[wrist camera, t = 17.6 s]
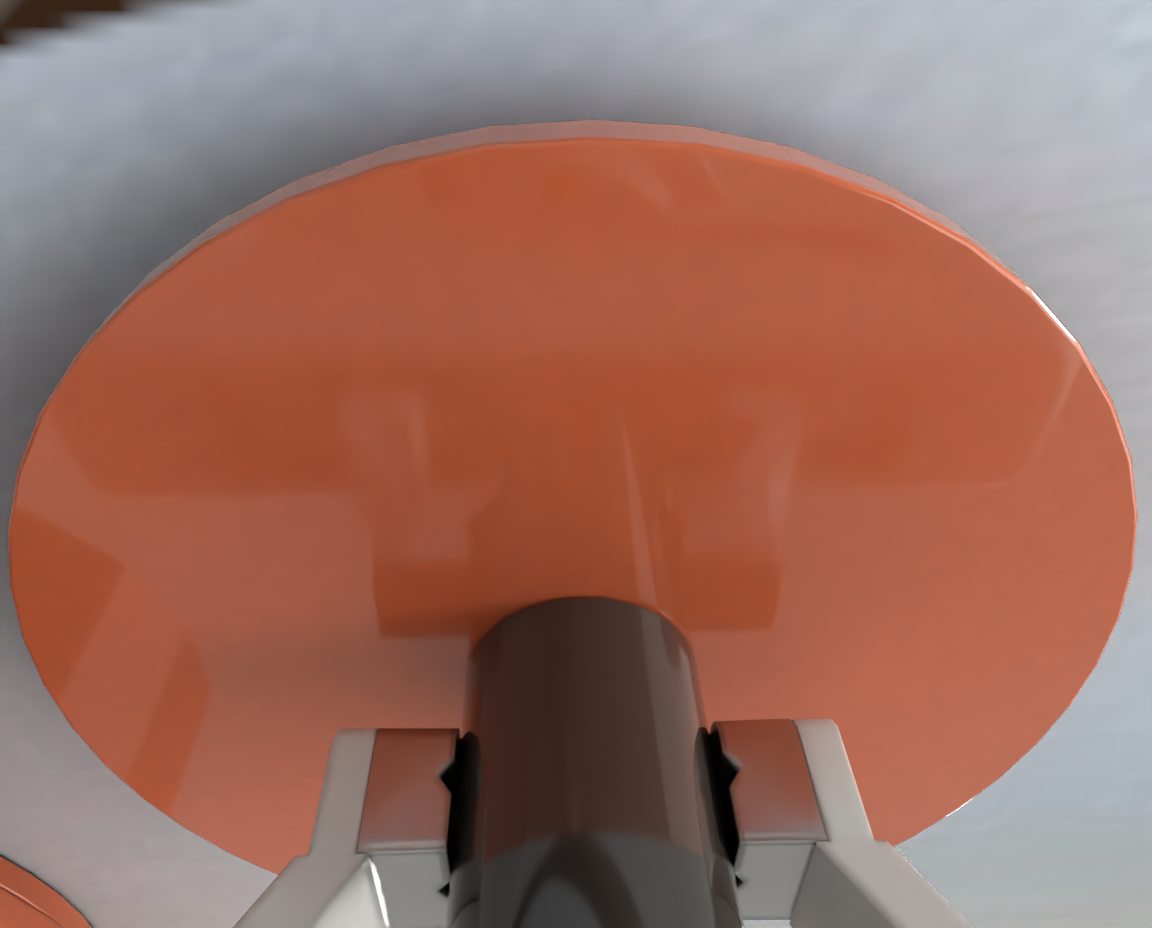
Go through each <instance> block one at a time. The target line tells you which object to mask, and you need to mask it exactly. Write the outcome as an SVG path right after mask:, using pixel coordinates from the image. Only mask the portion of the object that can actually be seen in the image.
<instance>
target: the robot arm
mask: <svg viewBox="0 0 1152 928" xmlns="http://www.w3.org/2000/svg"><path fill="white" fill-rule="evenodd" d="M710 740H711V745H712V751H713V756H714V762H715V767H716V773H717V778H718V784H719V790H720V795H721V801H722V806H723V812H724V817H725V823H726V828H727V834H728V840H729V845H730V851H731V856H732V862H733V867H734V873H735V878H736V884H737V890H738V895H739V901H740V906H741V912H742V917H743V920H791V921H790V924H791V926H792V927H793V928H975V927H974V926H972V925H971V924H970V923H969V922H968V921H967V920H966V919H965V918H964V917H963V916H962V915H961V914H960V913H959V912H958V911H957V910H956V909H955V908H954V907H953V906H952V905H951V904H950V903H949V902H948V901H947V900H946V899H945V898H944V897H943V896H942V895H941V894H940V893H939V892H938V891H937V890H936V889H935V888H934V887H933V886H932V885H931V884H930V883H929V882H928V881H927V880H926V879H925V878H924V877H923V876H922V875H921V874H920V873H919V872H918V871H917V870H916V869H915V868H914V867H913V866H912V865H911V864H910V863H909V862H908V861H907V860H906V859H905V858H904V857H903V856H902V855H901V854H900V853H899V852H898V851H896V850H895V849H894V848H893V847H892V846H891V845H890V844H889V843H888V842H887V841H886V840H874V838H873V835H872V831H871V828H870V825H869V822H868V819H867V816H866V813H865V810H864V807H863V804H862V800H861V797H860V794H859V791H858V788H857V785H856V782H855V779H854V776H853V773H852V769H851V766H850V763H849V760H848V757H847V754H846V751H845V748H844V745H843V742H842V738H841V735H840V732H839V729H838V726H837V725H836V724H835V723H834V721H833V720H832V719H829V718H819V719H796V720H790V719H789V718H785V719H759V720H732V721H714V722H713V724H712V725H711V729H710ZM460 747H461V736H460V729H459V728H357V729H338V730H337V733H336V735H335V737H334V739H333V741H332V744H331V749H330V754H329V758H328V763H327V767H326V772H325V777H324V781H323V786H322V791H321V795H320V800H319V805H318V809H317V814H316V819H315V823H314V828H313V833H312V837H311V842H310V847H309V851H308V855H301V856H295V857H294V858H293V859H292V860H291V862H290V863H289V864H288V865H287V866H286V867H285V868H284V870H283V871H282V872H281V873H280V874H279V875H278V876H277V878H276V879H275V880H274V881H273V882H272V883H271V884H270V886H269V887H268V888H267V889H266V890H265V891H264V892H263V894H262V895H261V896H260V897H259V898H258V899H257V900H256V902H255V903H254V904H253V905H252V906H251V907H250V908H249V910H248V911H247V912H246V913H245V914H244V915H243V916H242V918H241V919H240V920H239V921H238V922H237V923H236V924H235V926H234V927H233V928H445V923H446V911H447V898H448V886H449V879H450V873H451V861H452V848H453V836H454V824H455V818H454V811H455V798H456V791H457V786H458V773H459V760H460Z"/></svg>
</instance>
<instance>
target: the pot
mask: <svg viewBox="0 0 1152 928" xmlns="http://www.w3.org/2000/svg"><path fill="white" fill-rule="evenodd" d="M0 928H92V926H91V925H90V924H89V923H88V921H87V920H86V919H85V918H84V916H83V915H82V914H81V913H80V912H78V911H77V910H76V909H75V908H74V907H73V906H72V905H71V904H70V903H69V902H68V901H66V900H65V899H64V898H63V897H62V896H61V895H60V894H58V893H57V892H56V891H54V890H53V889H51V888H50V887H49V886H47V885H46V884H45V883H43V882H42V881H40V880H39V879H38V878H36V877H35V876H33V875H32V874H30V873H29V872H27V871H25V870H24V869H22V868H20V867H18V866H17V865H15V864H13V863H12V862H10V861H8V860H6V859H5V858H3V857H1V856H0Z"/></svg>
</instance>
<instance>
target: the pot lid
mask: <svg viewBox="0 0 1152 928" xmlns="http://www.w3.org/2000/svg"><path fill="white" fill-rule="evenodd" d="M1137 517H1138V514H1137V505H1136V496H1135V487H1134V478H1133V469H1132V460H1131V455H1130V452H1129V449H1128V446H1127V443H1126V440H1125V437H1124V434H1123V431H1122V428H1121V425H1120V422H1119V418H1118V415H1117V412H1116V409H1115V406H1114V403H1113V400H1112V398H1111V397H1110V395H1109V393H1108V391H1107V390H1106V388H1105V386H1104V384H1103V383H1102V381H1101V379H1100V378H1099V376H1098V374H1097V372H1096V371H1095V369H1094V367H1093V365H1092V364H1091V362H1090V360H1089V358H1088V357H1087V355H1086V353H1085V351H1084V350H1083V348H1082V346H1081V345H1080V343H1079V342H1078V341H1077V340H1076V338H1075V337H1074V336H1073V335H1072V334H1071V333H1070V332H1069V330H1068V329H1067V328H1066V327H1065V326H1064V325H1063V324H1062V322H1061V321H1060V320H1059V319H1058V318H1057V317H1056V316H1055V314H1054V313H1053V312H1052V311H1051V310H1050V309H1049V308H1048V306H1047V305H1046V304H1045V303H1044V302H1043V301H1042V300H1041V298H1040V297H1039V296H1038V295H1037V294H1036V293H1035V292H1034V290H1033V289H1032V288H1031V287H1030V286H1029V285H1028V284H1027V283H1026V282H1025V281H1024V280H1023V279H1022V278H1021V277H1020V276H1019V275H1018V274H1017V273H1016V272H1015V271H1014V270H1013V269H1012V268H1011V267H1010V266H1009V265H1007V264H1006V263H1005V262H1004V261H1002V260H1001V259H1000V258H999V257H997V256H996V255H995V254H994V253H992V252H991V251H990V250H989V249H987V248H986V247H985V246H984V245H982V244H981V243H980V242H978V241H977V240H976V239H975V238H973V237H972V236H971V235H970V234H968V233H967V232H966V231H965V230H963V229H962V228H961V227H960V226H958V225H957V224H956V223H955V222H953V221H952V220H951V219H949V218H947V217H945V216H943V215H941V214H940V213H938V212H936V211H934V210H932V209H931V208H929V207H927V206H925V205H923V204H922V203H920V202H918V201H916V200H914V199H913V198H911V197H909V196H907V195H905V194H904V193H902V192H900V191H898V190H896V189H895V188H893V187H891V186H889V185H887V184H885V183H884V182H882V181H880V180H878V179H876V178H874V177H871V176H868V175H865V174H863V173H860V172H857V171H855V170H852V169H849V168H846V167H844V166H841V165H838V164H835V163H833V162H830V161H827V160H825V159H822V158H819V157H816V156H814V155H811V154H808V153H805V152H803V151H800V150H797V149H795V148H792V147H789V146H784V145H779V144H774V143H770V142H765V141H760V140H755V139H751V138H746V137H741V136H736V135H732V134H727V133H722V132H717V131H713V130H708V129H703V128H698V127H693V126H679V125H665V124H651V123H636V122H622V121H608V120H593V119H591V120H575V121H560V122H545V123H529V124H514V125H498V126H487V127H482V128H477V129H472V130H468V131H463V132H458V133H453V134H448V135H443V136H438V137H433V138H428V139H423V140H418V141H413V142H408V143H403V144H399V145H394V146H389V147H386V148H384V149H381V150H378V151H375V152H372V153H369V154H367V155H364V156H361V157H358V158H355V159H352V160H350V161H347V162H344V163H341V164H338V165H335V166H333V167H330V168H327V169H324V170H321V171H318V172H316V173H313V174H310V175H307V176H304V177H301V178H299V179H296V180H295V181H293V182H291V183H289V184H287V185H285V186H283V187H281V188H279V189H278V190H276V191H274V192H272V193H270V194H268V195H266V196H264V197H262V198H261V199H259V200H257V201H255V202H253V203H251V204H249V205H247V206H245V207H243V208H242V209H240V210H238V211H236V212H234V213H232V214H230V215H228V216H226V217H225V218H223V219H221V220H219V221H217V222H216V223H214V224H213V225H212V226H210V227H209V228H208V229H206V230H205V231H204V232H202V233H201V234H200V235H198V236H197V237H196V238H194V239H193V240H192V241H190V242H189V243H188V244H186V245H185V246H184V247H182V248H181V249H180V250H178V251H177V252H176V253H174V254H173V255H172V256H170V257H169V258H168V259H166V260H165V261H164V262H162V263H161V264H160V265H158V266H157V267H156V268H154V269H153V270H152V271H150V272H149V273H148V274H147V275H146V277H145V278H144V279H143V280H142V281H141V282H140V283H139V284H138V285H137V286H136V287H135V288H134V289H133V290H132V291H131V292H130V293H129V295H128V296H127V297H126V298H125V299H124V300H123V301H122V302H121V303H120V304H119V305H118V306H117V307H116V308H115V309H114V310H113V311H112V312H111V314H110V315H109V316H108V317H107V318H106V319H105V320H104V321H103V322H102V323H101V324H100V325H99V326H98V327H97V329H96V330H95V331H94V332H93V334H92V335H91V336H90V337H89V339H88V340H87V341H86V342H85V344H84V345H83V346H82V347H81V349H80V350H79V351H78V353H77V354H76V356H75V357H74V359H73V361H72V362H71V364H70V365H69V367H68V368H67V370H66V371H65V373H64V375H63V376H62V378H61V379H60V381H59V382H58V384H57V385H56V387H55V389H54V390H53V392H52V393H51V395H50V396H49V398H48V399H47V401H46V402H45V404H44V406H43V407H42V409H41V411H40V413H39V416H38V418H37V421H36V424H35V426H34V429H33V431H32V434H31V436H30V439H29V441H28V444H27V447H26V449H25V452H24V454H23V457H22V459H21V462H20V464H19V467H18V470H17V476H16V482H15V488H14V494H13V500H12V506H11V512H10V518H9V524H8V546H9V570H10V587H11V591H12V595H13V599H14V604H15V608H16V612H17V616H18V620H19V624H20V628H21V632H22V637H23V639H24V641H25V644H26V646H27V648H28V650H29V653H30V655H31V657H32V659H33V662H34V664H35V666H36V668H37V671H38V673H39V675H40V677H41V680H42V682H43V684H44V686H45V687H46V689H47V690H48V692H49V693H50V695H51V696H52V698H53V699H54V701H55V702H56V704H57V706H58V707H59V709H60V710H61V712H62V713H63V715H64V716H65V718H66V719H67V721H68V722H69V724H70V725H71V727H72V728H73V729H74V730H75V732H76V733H77V734H78V735H79V736H80V737H81V738H82V739H83V741H84V742H85V743H86V744H87V745H88V746H89V747H90V749H91V750H92V751H93V752H94V753H95V754H96V755H97V756H98V758H99V759H100V760H101V761H102V762H103V763H104V764H105V765H106V766H107V767H108V768H109V769H110V770H111V771H112V772H113V773H115V774H116V775H117V776H118V777H119V778H120V779H121V780H123V781H124V782H125V783H126V784H127V785H128V786H129V787H130V788H132V789H133V790H134V791H135V792H136V793H137V794H138V795H140V796H141V797H142V798H143V799H144V800H146V801H147V802H148V803H150V804H151V805H153V806H154V807H156V808H157V809H158V810H160V811H161V812H163V813H164V814H166V815H167V816H168V817H170V818H171V819H173V820H174V821H176V822H177V823H178V824H180V825H181V826H183V827H184V828H186V829H187V830H189V831H191V832H193V833H194V834H196V835H198V836H200V837H202V838H203V839H205V840H207V841H209V842H210V843H212V844H214V845H216V846H218V847H219V848H221V849H223V850H225V851H226V852H228V853H230V854H232V855H234V856H237V857H239V858H241V859H243V860H246V861H248V862H250V863H252V864H254V865H257V866H259V867H261V868H263V869H266V870H268V871H270V872H272V873H274V874H277V875H279V874H280V873H281V872H282V871H283V870H284V868H285V867H286V866H287V865H288V864H289V863H290V862H291V860H292V859H293V858H294V857H295V856H301V855H308V851H309V847H310V842H311V837H312V833H313V828H314V823H315V819H316V814H317V809H318V805H319V800H320V795H321V791H322V786H323V781H324V777H325V772H326V767H327V763H328V758H329V754H330V749H331V744H332V741H333V739H334V737H335V735H336V733H337V730H338V729H357V728H459V729H460V736H461V747H460V760H459V773H458V786H457V791H456V798H455V811H454V818H455V824H454V836H453V848H452V861H451V873H450V879H449V886H448V898H447V911H446V923H445V928H744V923H743V917H742V912H741V906H740V901H739V895H738V890H737V884H736V878H735V873H734V867H733V862H732V856H731V851H730V845H729V840H728V834H727V828H726V823H725V817H724V812H723V806H722V801H721V795H720V790H719V784H718V778H717V773H716V767H715V762H714V756H713V751H712V745H711V740H710V729H711V725H712V724H713V722H714V721H732V720H759V719H785V718H789V719H790V720H796V719H819V718H829V719H832V720H833V721H834V723H835V724H836V725H837V726H838V729H839V732H840V735H841V738H842V742H843V745H844V748H845V751H846V754H847V757H848V760H849V763H850V766H851V769H852V773H853V776H854V779H855V782H856V785H857V788H858V791H859V794H860V797H861V800H862V804H863V807H864V810H865V813H866V816H867V819H868V822H869V825H870V828H871V831H872V835H873V838H874V840H886V841H887V842H888V843H889V844H890V845H891V846H892V847H894V846H896V845H898V844H900V843H902V842H904V841H906V840H908V839H910V838H911V837H913V836H915V835H917V834H919V833H920V832H922V831H924V830H925V829H927V828H928V827H930V826H932V825H933V824H935V823H937V822H938V821H940V820H942V819H943V818H945V817H946V816H948V815H950V814H951V813H953V812H955V811H956V810H958V809H959V808H961V807H962V806H963V805H965V804H966V803H967V802H969V801H970V800H971V799H973V798H974V797H975V796H977V795H978V794H979V793H981V792H982V791H983V790H985V789H986V788H987V787H989V786H990V785H991V784H993V783H994V782H995V781H997V780H998V779H999V778H1000V777H1002V776H1003V775H1004V774H1005V773H1006V772H1007V771H1008V770H1009V769H1010V768H1011V767H1012V766H1014V765H1015V764H1016V763H1017V762H1018V761H1019V760H1020V759H1021V758H1022V757H1023V756H1024V755H1026V754H1027V753H1028V752H1029V751H1030V750H1031V749H1032V748H1033V747H1034V746H1035V745H1036V744H1037V743H1038V742H1039V741H1040V740H1041V739H1042V737H1043V736H1044V735H1045V734H1046V733H1047V732H1048V731H1049V729H1050V728H1051V727H1052V726H1053V725H1054V724H1055V722H1056V721H1057V720H1058V719H1059V718H1060V717H1061V716H1062V714H1063V713H1064V712H1065V711H1066V710H1067V709H1068V707H1069V706H1070V705H1071V703H1072V702H1073V700H1074V699H1075V697H1076V696H1077V694H1078V693H1079V691H1080V690H1081V688H1082V687H1083V685H1084V684H1085V682H1086V681H1087V679H1088V678H1089V676H1090V675H1091V673H1092V672H1093V670H1094V669H1095V667H1096V666H1097V664H1098V662H1099V660H1100V658H1101V655H1102V653H1103V651H1104V649H1105V647H1106V645H1107V643H1108V641H1109V638H1110V636H1111V634H1112V632H1113V630H1114V628H1115V626H1116V623H1117V621H1118V619H1119V616H1120V613H1121V609H1122V606H1123V602H1124V598H1125V595H1126V591H1127V588H1128V584H1129V581H1130V577H1131V573H1132V570H1133V562H1134V551H1135V539H1136V528H1137Z"/></svg>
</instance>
